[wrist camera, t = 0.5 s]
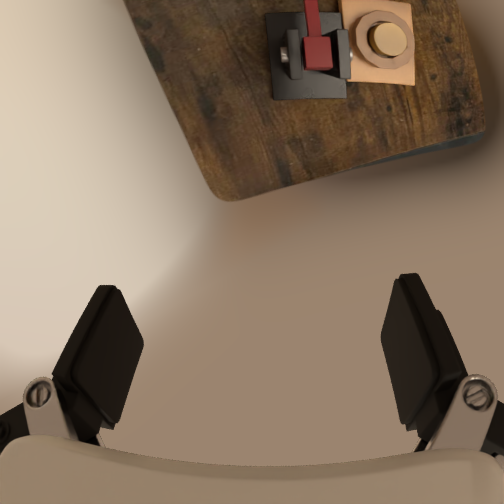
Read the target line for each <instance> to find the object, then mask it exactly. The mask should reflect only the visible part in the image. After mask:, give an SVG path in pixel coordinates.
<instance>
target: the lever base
mask: <svg viewBox="0 0 504 504" xmlns="http://www.w3.org/2000/svg"><path fill="white" fill-rule="evenodd" d="M319 16H320V24H321V33H322V37H330V41H331V51H332V61H333V68H331V69H329V70H304V66H303V56H302V46H301V41H302V39H303V37H308V35H307V26H306V18H305V12H285V13H267V14H265V20H266V29H267V39H268V48H269V58H270V68H271V78H272V89H273V100H290V99H323V98H347V87H346V79H351V63H350V62H352V59H353V52H352V49H351V47H349V34H348V29H343V25H342V15H341V13H337V12H319Z"/></svg>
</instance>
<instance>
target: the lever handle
mask: <svg viewBox="0 0 504 504" xmlns="http://www.w3.org/2000/svg"><path fill="white" fill-rule="evenodd" d="M303 3H304V10H305V18H306V26H307V35H308V37H303V39H302V41H301V46H302V56H303V66H304V70H329V69H331V68H333V61H332V51H331V41H330V37H322V33H321V24H320V16H319V9H318V1H317V0H303Z"/></svg>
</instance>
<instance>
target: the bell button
mask: <svg viewBox="0 0 504 504" xmlns="http://www.w3.org/2000/svg"><path fill="white" fill-rule="evenodd" d="M369 41H370V44H371V46H372V48H373V49H374V50H375V51H376V52H378V53H379V54H382V55H385V56H397V55H400V54H402V53H403V52H404V51H405V49H406V47H407V37H406V35H405V33H404V31H403V30H402V29H401V28H400V27H399V26H397V25H396V24H393V23H388V22H387V23H381V24H378V25H375V26H374V27H373V28H372V29H371V30H370V33H369Z"/></svg>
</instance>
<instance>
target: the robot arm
mask: <svg viewBox="0 0 504 504" xmlns="http://www.w3.org/2000/svg"><path fill="white" fill-rule="evenodd" d="M381 343H382V347H383V351H384V354H385V358H386V362H387V366H388V370H389V374H390V378H391V383H392V386H393V391H394V395H395V400H396V404H397V409H398V413H399V418H400V422H401V424H405V425H406V430H407V431H411V430H416V429H417V433H418V437H420V438H419V440H418V442H417V444H416V446H415V447H414V449H413V451H412V452H411V453H407V454H401V455H395V456H389V457H383V458H376V459H369V460H361V461H352V462H344V463H334V464H322V465H306V466H275V467H274V466H266V467H265V466H231V465H215V464H203V463H193V462H184V461H176V460H169V459H162V458H155V457H149V456H144V455H138V454H133V453H128V452H123V451H117V450H114V449H109V448H106V447H105V445H104V443H103V441H102V438H101V436H100V434H99V430H100V427H102V428H107V429H112V430H113V429H114V427H115V423H118V422H119V420H120V417H121V414H122V411H123V408H124V405H125V401H126V398H127V395H128V392H129V389H130V386H131V382H132V379H133V376H134V373H135V370H136V367H137V364H138V361H139V358H140V356H141V353H142V350H143V346H144V342H143V338H142V336H141V334H140V332H139V329H138V327H137V325H136V323H135V321H134V319H133V317H132V315H131V313H130V310H129V308H128V306H127V304H126V302H125V299H124V297H123V295H122V292H121V291H120V290H119V289H117V288H116V286H114V285H100V286H98V288H97V289H96V291H95V293H94V294H93V296H92V298H91V299H90V301H89V303H88V305H87V307H86V308H85V310H84V312H83V314H82V316H81V317H80V319H79V321H78V323H77V325H76V327H75V328H74V330H73V333H72V334H71V336H70V338H69V340H68V342H67V344H66V346H65V348H64V350H63V352H62V354H61V356H60V358H59V360H58V362H57V364H56V366H55V368H54V370H53V372H52V375H53V378H52V380H51V379H49V378H47V377H39V378H36V379H34V380H33V381H31V382H30V383H29V384H28V386H27V387H26V389H25V391H24V394H23V403H21V404H19V405H17V406H16V407H14V408H12V409H11V410H9V411H7V412H5V413H4V414H2V415H0V504H504V404H503V403H502V402H500V401H498V400H497V399H498V394H497V389H496V387H495V386H494V384H493V383H492V382H491V380H490V379H488V378H487V377H485V376H482V375H479V374H472V375H469V376H468V373H467V371H466V368H465V366H464V363H463V361H462V358H461V356H460V353H459V351H458V349H457V346H456V344H455V342H454V339H453V337H452V335H451V333H450V330H449V328H448V326H447V324H446V322H445V319H444V317H443V315H442V314H441V312H440V311H439V310H436V309H435V307H434V305H433V303H432V301H431V299H430V296H429V294H428V292H427V290H426V289H425V286H424V284H423V282H422V280H421V278H420V276H419V275H418V274H417V273H409V274H401V275H400V276H399V279H395V281H394V285H393V289H392V294H391V297H390V302H389V305H388V309H387V313H386V317H385V320H384V324H383V328H382V331H381Z"/></svg>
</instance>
